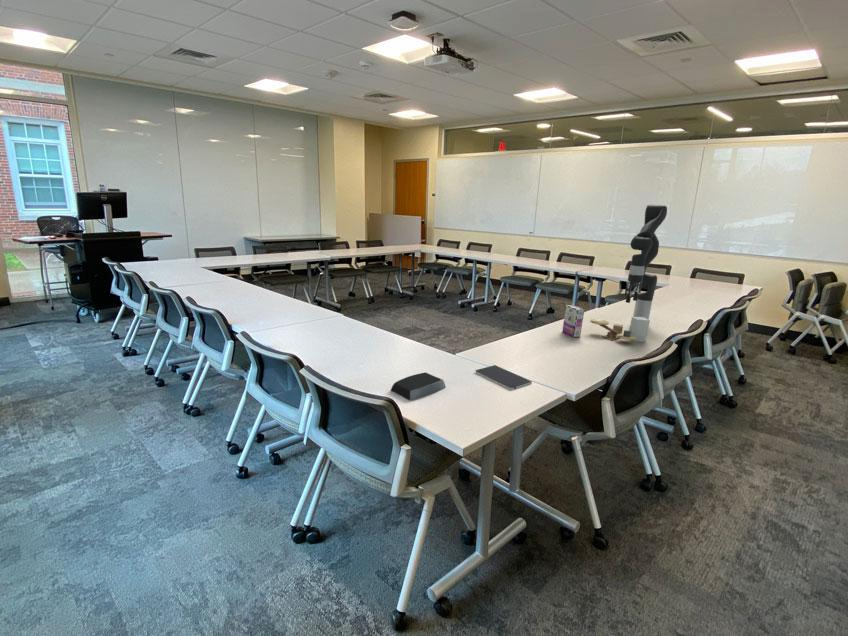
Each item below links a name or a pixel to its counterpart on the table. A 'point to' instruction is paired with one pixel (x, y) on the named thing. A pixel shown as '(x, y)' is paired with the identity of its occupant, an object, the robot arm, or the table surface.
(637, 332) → the supplement box
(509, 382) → the notebook
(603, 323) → the balance
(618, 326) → the walnut block
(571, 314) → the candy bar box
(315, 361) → the table surface
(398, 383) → the external hard drive
